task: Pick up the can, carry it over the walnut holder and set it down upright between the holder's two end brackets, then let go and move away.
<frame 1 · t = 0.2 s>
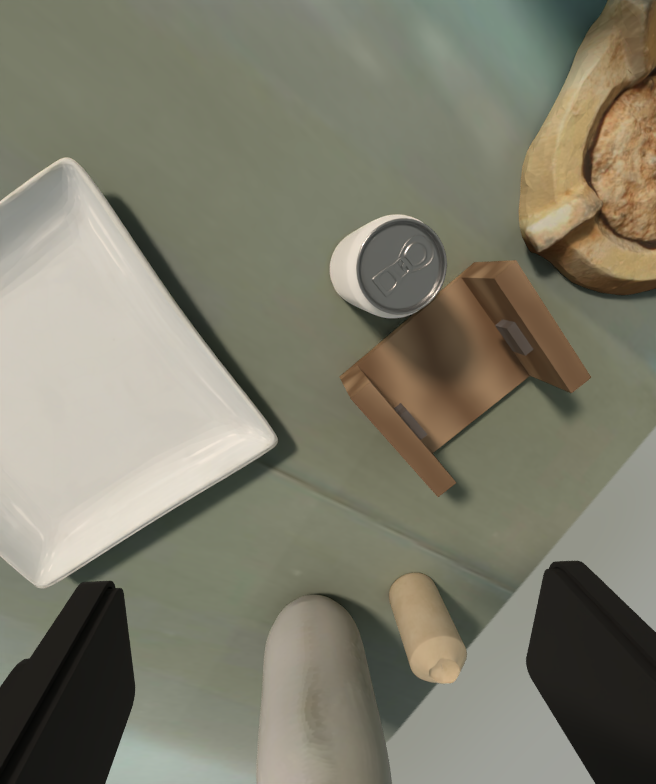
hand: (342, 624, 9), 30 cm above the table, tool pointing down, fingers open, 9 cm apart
candle: (411, 590, 47), on the table
can: (364, 269, 37), on the table
gray bottle: (311, 612, 46), on the table
ashtray: (632, 168, 37), on the table
square plate: (74, 390, 37), on the table
holder: (442, 368, 40), on the table
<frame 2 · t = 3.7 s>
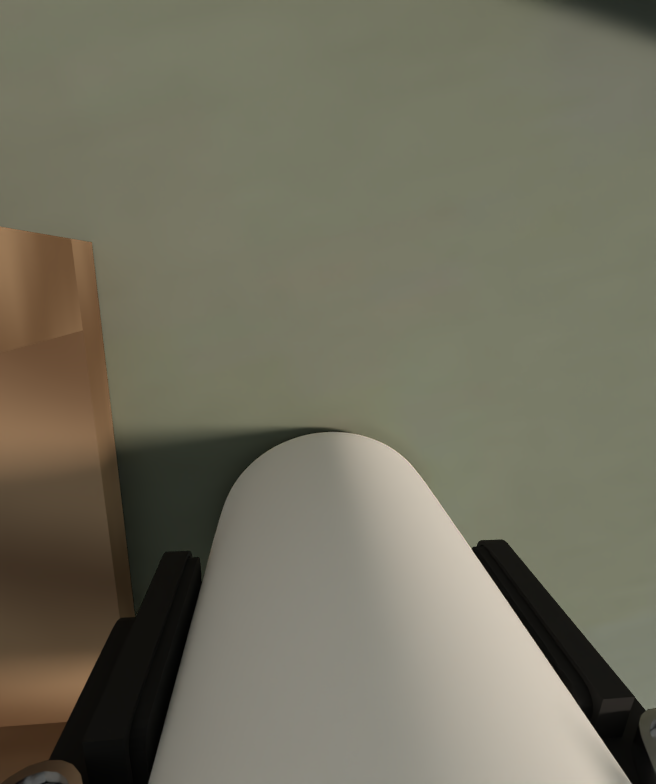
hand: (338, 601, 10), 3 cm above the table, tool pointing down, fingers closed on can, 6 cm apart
can: (326, 519, 13), on the table, touching gripper
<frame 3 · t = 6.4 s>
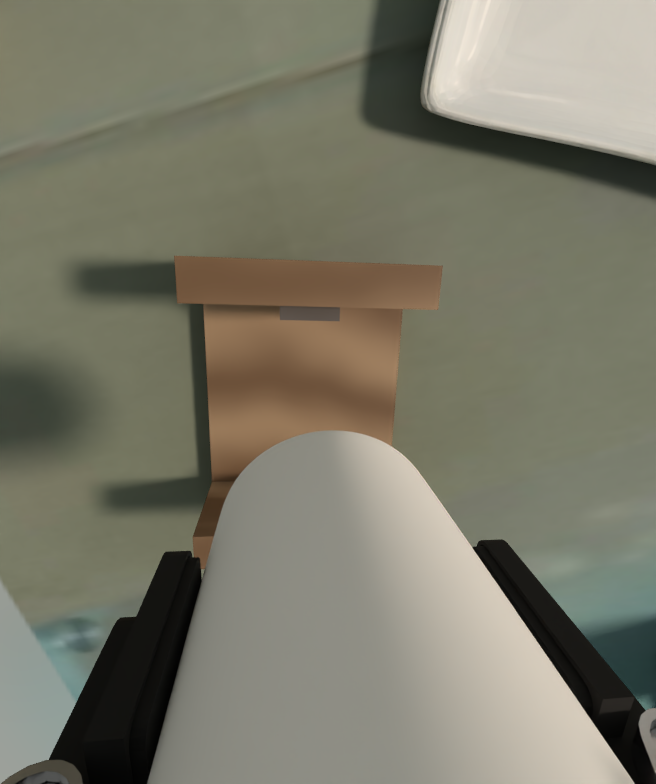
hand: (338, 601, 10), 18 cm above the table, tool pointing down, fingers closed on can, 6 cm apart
can: (326, 518, 13), point 15 cm above the table, touching gripper
holder: (303, 391, 27), on the table
when the fingers open (6 cm above the table, at t = 9.4 s): can drops 2 cm, resting on holder.
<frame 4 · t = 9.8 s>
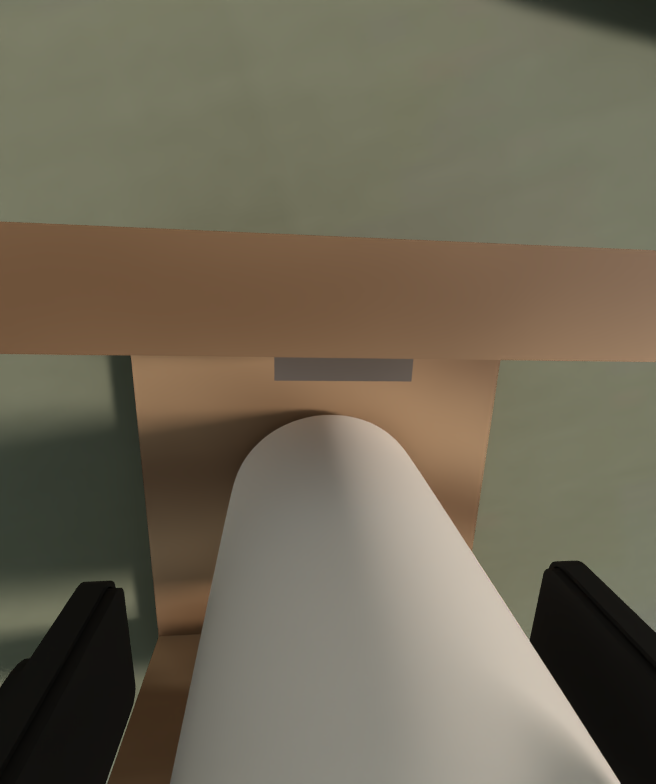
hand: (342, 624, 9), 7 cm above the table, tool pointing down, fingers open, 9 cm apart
can: (324, 491, 15), point 1 cm above the table, touching holder
holder: (318, 478, 16), on the table
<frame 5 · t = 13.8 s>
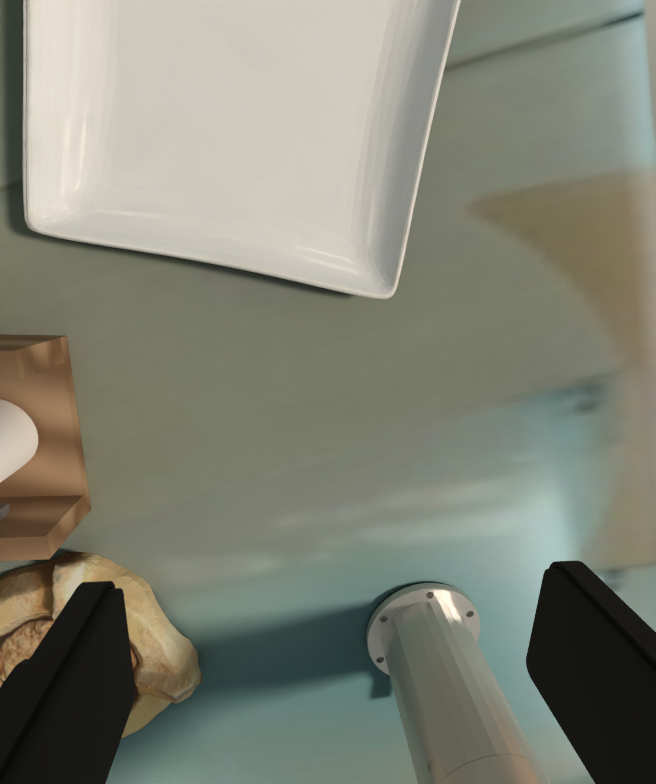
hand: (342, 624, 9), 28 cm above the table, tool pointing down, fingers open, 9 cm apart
can: (1, 432, 34), point 1 cm above the table, touching holder
ashtray: (82, 643, 42), on the table
square plate: (248, 83, 31), on the table
holder: (5, 428, 35), on the table
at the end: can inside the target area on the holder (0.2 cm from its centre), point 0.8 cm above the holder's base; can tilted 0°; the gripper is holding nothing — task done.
